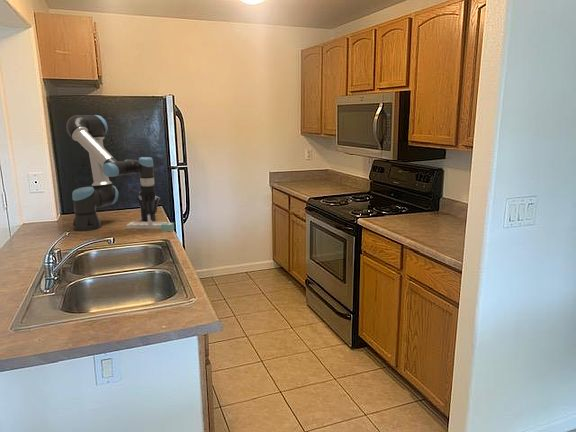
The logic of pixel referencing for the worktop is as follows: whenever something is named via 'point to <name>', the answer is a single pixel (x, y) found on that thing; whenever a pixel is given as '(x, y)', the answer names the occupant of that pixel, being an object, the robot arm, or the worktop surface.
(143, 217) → the bottle
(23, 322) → the worktop surface
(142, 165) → the robot arm
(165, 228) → the stub
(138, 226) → the slab
